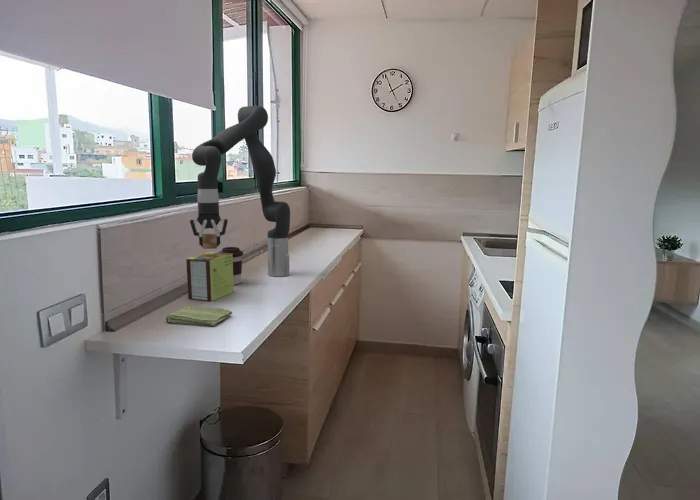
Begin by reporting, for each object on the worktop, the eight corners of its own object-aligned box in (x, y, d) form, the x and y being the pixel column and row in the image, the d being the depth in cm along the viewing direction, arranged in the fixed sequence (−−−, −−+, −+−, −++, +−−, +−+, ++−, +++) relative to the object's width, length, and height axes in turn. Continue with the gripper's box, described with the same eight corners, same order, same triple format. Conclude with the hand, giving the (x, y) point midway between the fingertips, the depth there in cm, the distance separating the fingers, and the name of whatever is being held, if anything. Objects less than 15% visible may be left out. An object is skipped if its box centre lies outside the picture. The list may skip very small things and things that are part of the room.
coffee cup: (237, 286, 204) (236, 250, 201) (215, 285, 206) (214, 249, 203) (247, 281, 213) (246, 246, 211) (226, 279, 215) (225, 245, 213)
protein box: (234, 292, 196) (233, 253, 193) (211, 301, 181) (209, 260, 179) (211, 289, 199) (210, 251, 196) (187, 299, 185) (185, 258, 182)
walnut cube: (216, 246, 190) (216, 233, 190) (216, 248, 186) (216, 235, 185) (203, 246, 189) (202, 233, 188) (202, 248, 184) (202, 235, 184)
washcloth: (215, 329, 153) (215, 318, 152) (163, 324, 157) (163, 314, 156) (234, 316, 166) (233, 307, 165) (185, 312, 169) (185, 303, 169)
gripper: (227, 200, 190) (229, 244, 193) (188, 200, 186) (190, 245, 189) (228, 201, 183) (229, 247, 186) (187, 202, 179) (189, 248, 182)
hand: (209, 246), depth 187 cm, fingers closed on walnut cube, 5 cm apart
